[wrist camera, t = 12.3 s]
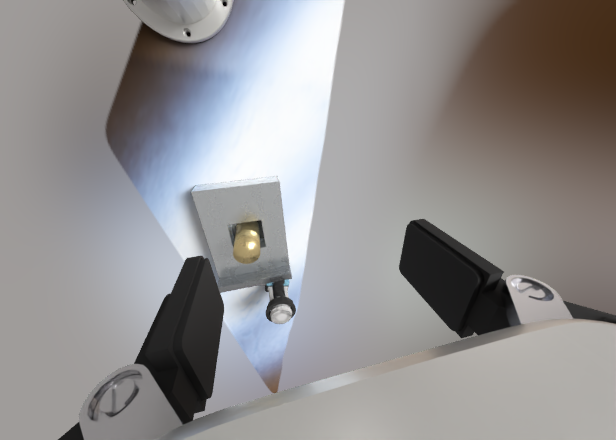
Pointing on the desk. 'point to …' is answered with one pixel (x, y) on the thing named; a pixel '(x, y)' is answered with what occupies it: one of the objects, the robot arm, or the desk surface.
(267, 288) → the push button
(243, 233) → the gold domed cylinder
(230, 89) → the desk surface
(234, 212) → the jig
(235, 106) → the desk surface
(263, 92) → the desk surface
